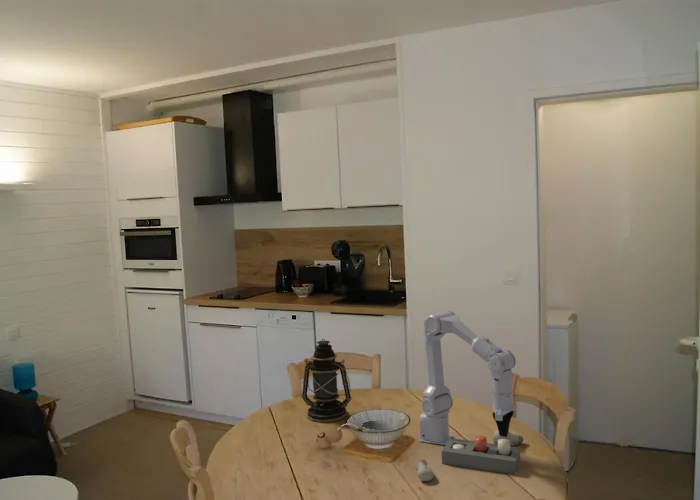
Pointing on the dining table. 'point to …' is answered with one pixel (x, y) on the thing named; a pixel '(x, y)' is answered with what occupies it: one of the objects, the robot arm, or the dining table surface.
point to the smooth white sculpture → (424, 471)
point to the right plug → (504, 447)
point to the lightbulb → (511, 437)
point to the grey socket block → (481, 457)
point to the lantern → (325, 385)
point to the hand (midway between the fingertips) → (503, 435)
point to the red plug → (480, 444)
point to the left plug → (458, 446)
